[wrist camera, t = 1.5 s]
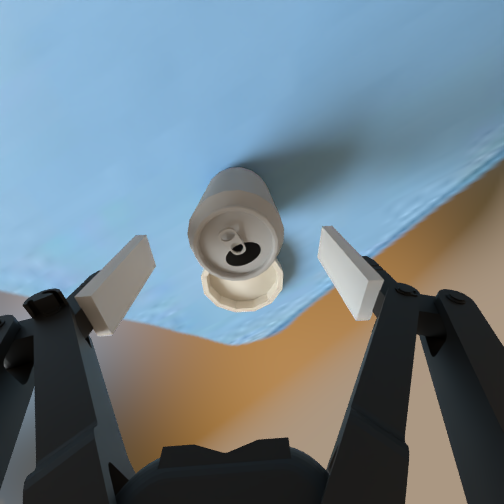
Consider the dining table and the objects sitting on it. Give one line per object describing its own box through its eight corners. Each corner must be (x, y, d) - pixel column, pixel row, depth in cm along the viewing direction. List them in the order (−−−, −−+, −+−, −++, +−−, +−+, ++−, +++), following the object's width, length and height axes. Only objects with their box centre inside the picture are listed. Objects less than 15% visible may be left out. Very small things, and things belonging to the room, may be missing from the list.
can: (228, 237, 28) (221, 302, 18) (193, 187, 24) (158, 232, 14) (279, 209, 26) (304, 264, 16) (249, 152, 23) (257, 173, 12)
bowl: (199, 241, 28) (195, 250, 26) (281, 237, 28) (284, 246, 26) (210, 302, 34) (208, 313, 32) (278, 298, 34) (280, 309, 32)
